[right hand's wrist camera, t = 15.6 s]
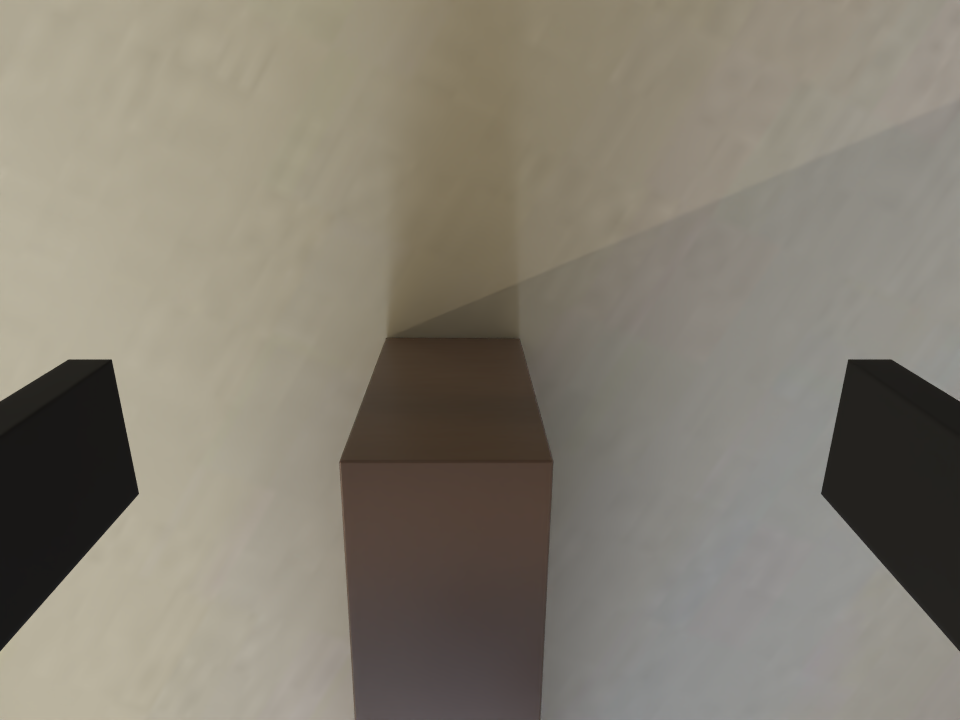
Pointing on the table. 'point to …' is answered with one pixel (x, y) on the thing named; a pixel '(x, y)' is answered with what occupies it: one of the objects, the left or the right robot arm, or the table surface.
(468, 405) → the walnut box
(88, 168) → the table surface
